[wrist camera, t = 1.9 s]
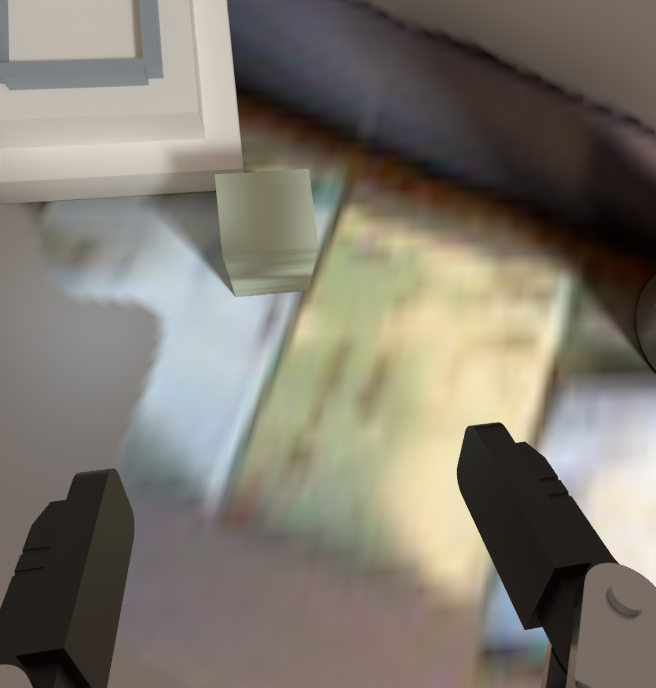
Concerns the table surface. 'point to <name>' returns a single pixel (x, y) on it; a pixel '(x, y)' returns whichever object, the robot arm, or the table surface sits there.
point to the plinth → (144, 157)
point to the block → (267, 230)
